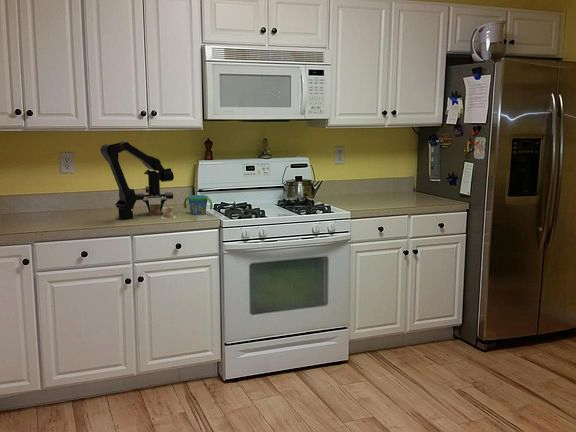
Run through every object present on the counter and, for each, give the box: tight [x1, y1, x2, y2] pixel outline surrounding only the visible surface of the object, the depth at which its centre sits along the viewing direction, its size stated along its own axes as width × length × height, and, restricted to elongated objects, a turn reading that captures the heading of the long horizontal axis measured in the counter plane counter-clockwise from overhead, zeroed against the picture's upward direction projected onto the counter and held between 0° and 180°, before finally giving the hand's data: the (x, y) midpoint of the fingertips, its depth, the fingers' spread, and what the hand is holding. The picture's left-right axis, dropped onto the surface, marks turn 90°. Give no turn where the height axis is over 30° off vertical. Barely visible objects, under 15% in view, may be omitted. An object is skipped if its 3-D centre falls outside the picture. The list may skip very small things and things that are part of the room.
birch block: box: [162, 206, 175, 219], centre depth 308 cm, size 5×5×5 cm
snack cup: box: [183, 194, 213, 216], centre depth 320 cm, size 16×10×10 cm
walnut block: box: [149, 203, 161, 216], centre depth 316 cm, size 5×5×5 cm
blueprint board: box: [160, 215, 177, 220], centre depth 313 cm, size 16×20×1 cm
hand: (155, 212), depth 316 cm, fingers closed on walnut block, 5 cm apart
